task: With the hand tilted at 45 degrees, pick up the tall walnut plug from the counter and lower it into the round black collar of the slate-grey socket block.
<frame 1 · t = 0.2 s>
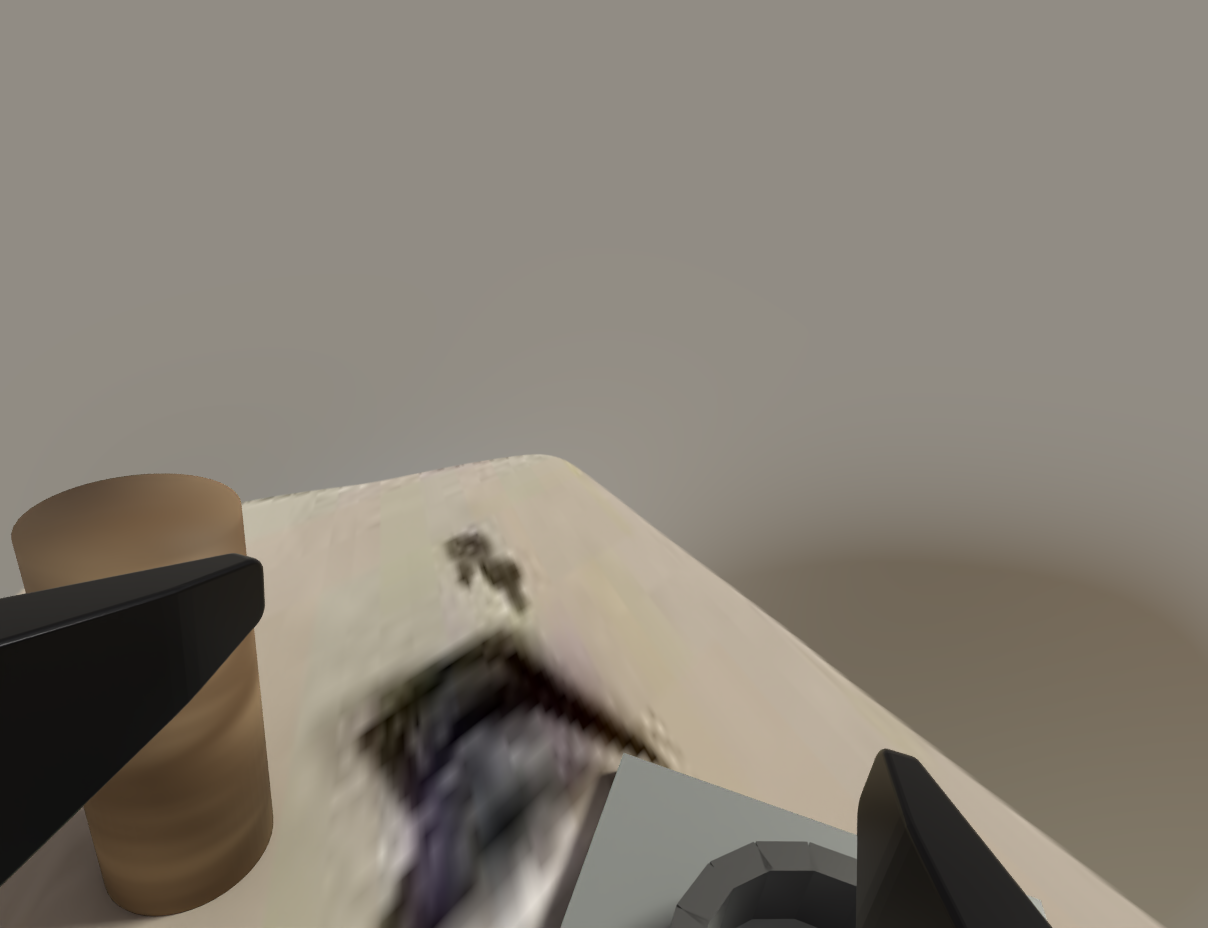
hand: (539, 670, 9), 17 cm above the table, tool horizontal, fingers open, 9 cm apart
plug: (193, 841, 23), on the table
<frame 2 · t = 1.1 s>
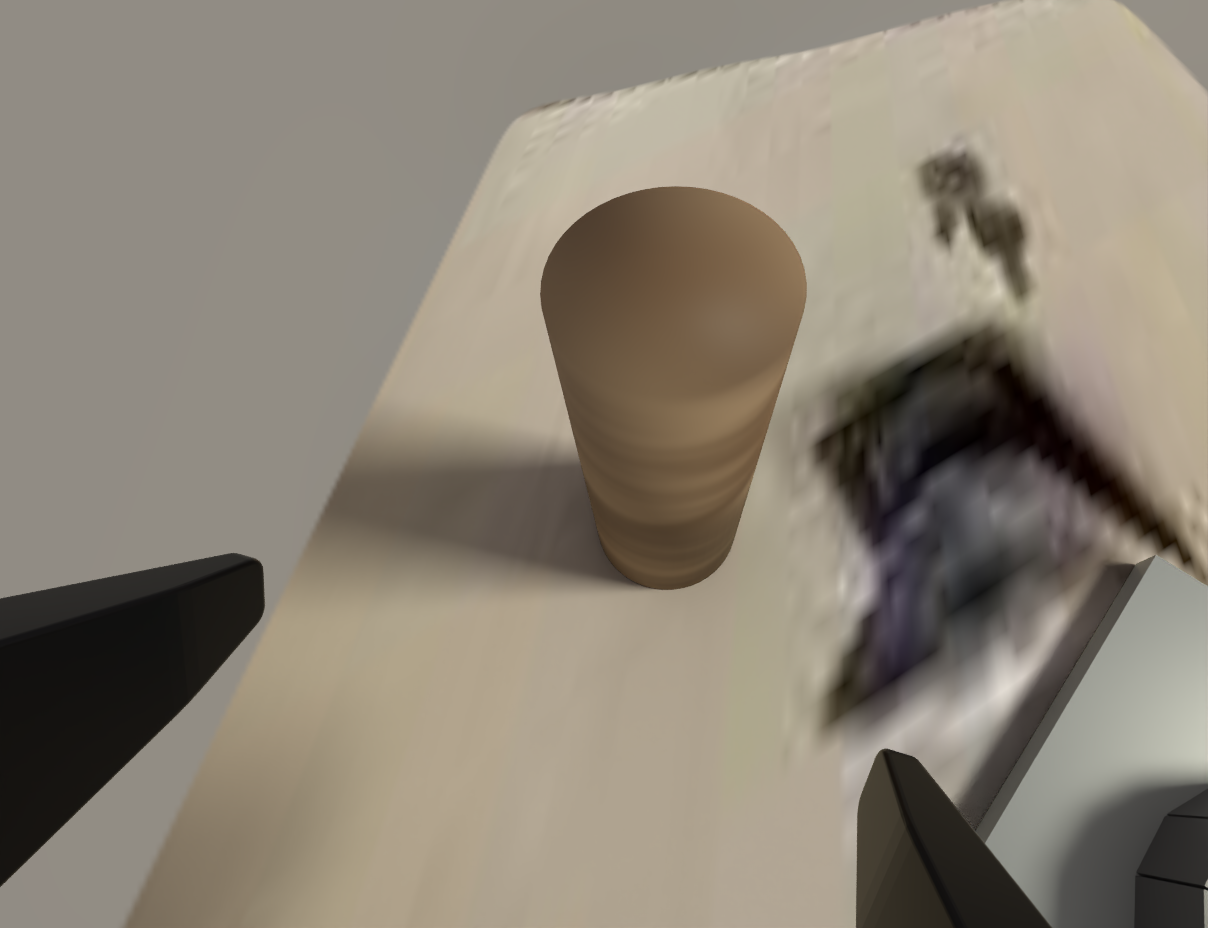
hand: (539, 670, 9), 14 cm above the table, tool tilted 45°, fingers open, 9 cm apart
plug: (665, 522, 24), on the table
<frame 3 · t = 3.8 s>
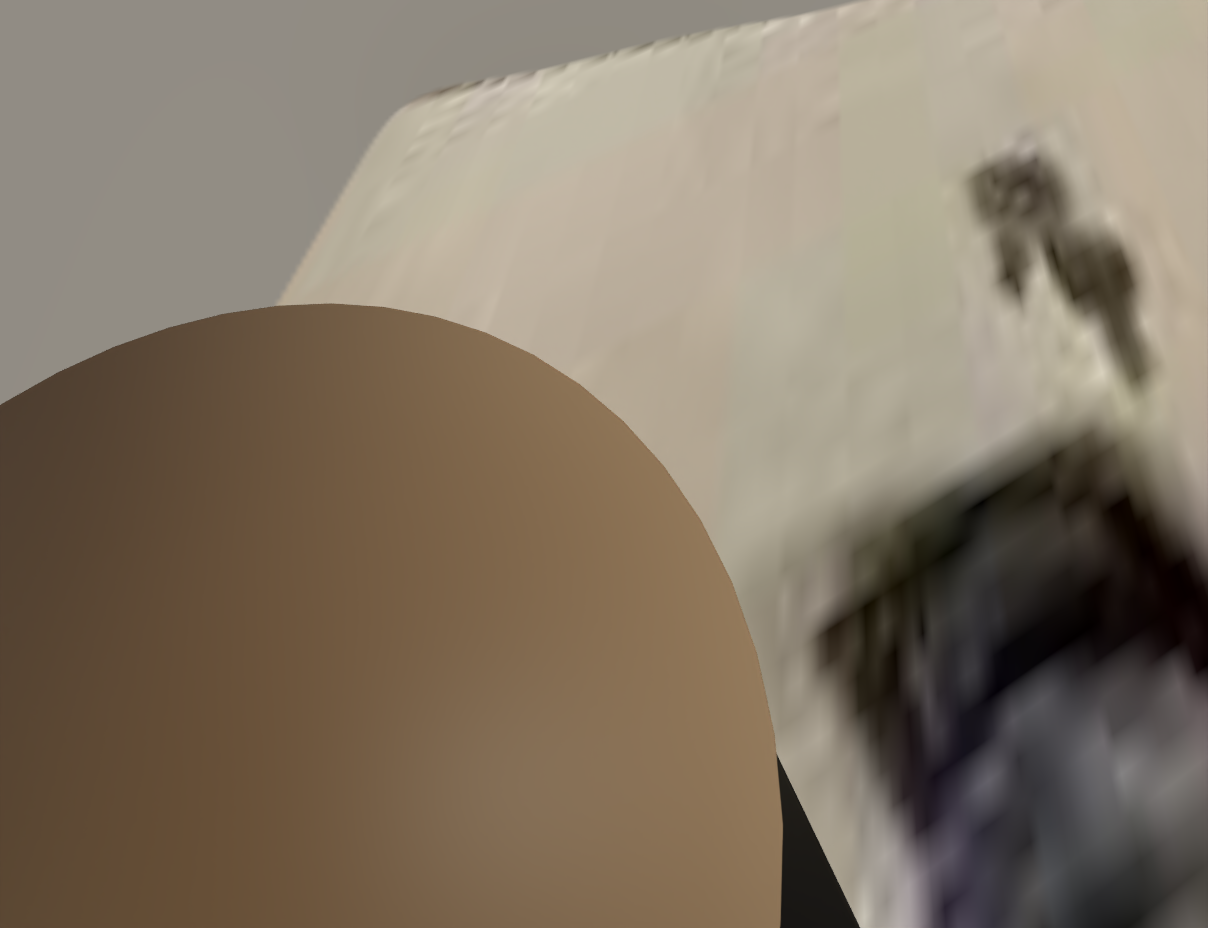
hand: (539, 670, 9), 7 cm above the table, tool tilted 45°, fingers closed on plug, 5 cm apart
plug: (568, 776, 15), on the table, touching gripper
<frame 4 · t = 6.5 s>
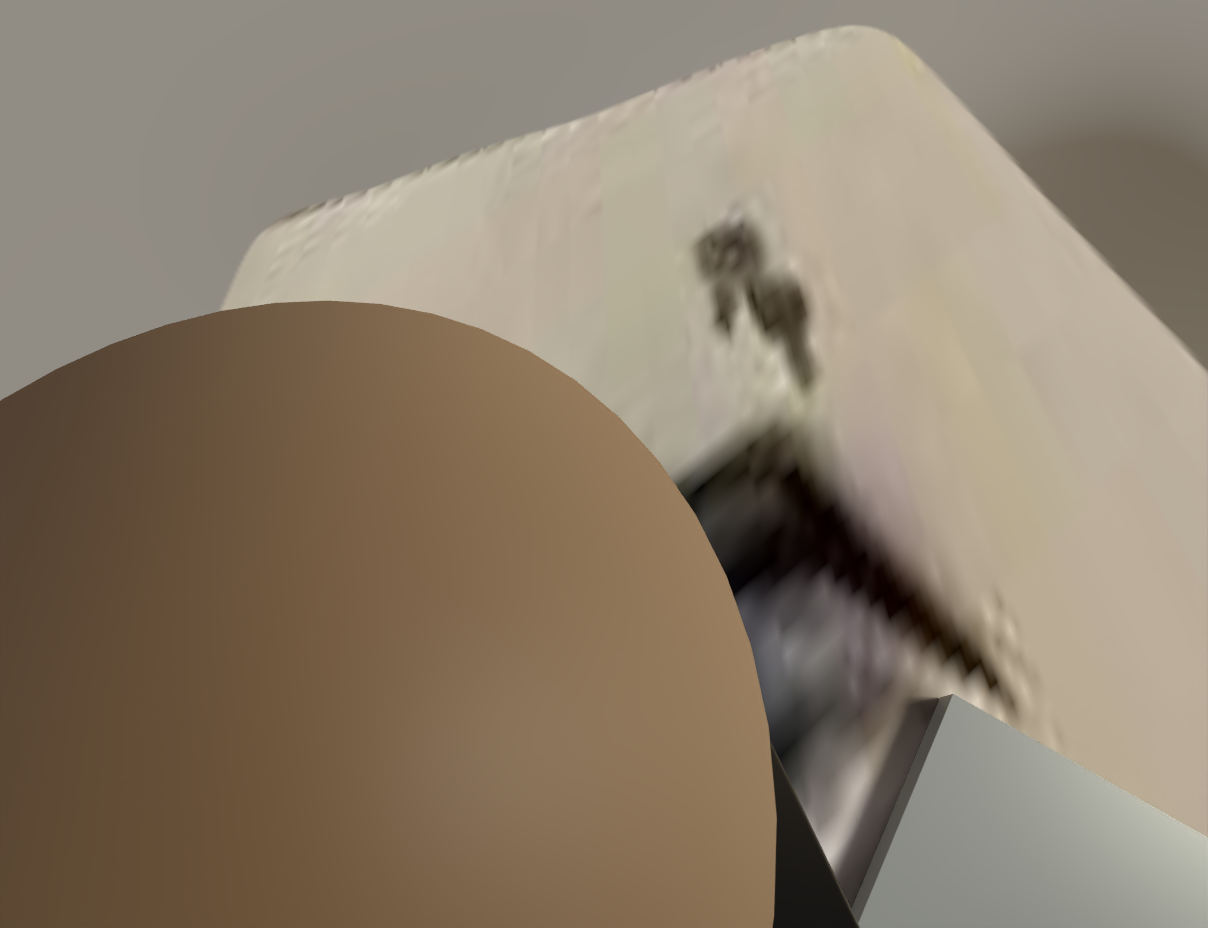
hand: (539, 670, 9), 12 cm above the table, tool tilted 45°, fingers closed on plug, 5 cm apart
plug: (567, 775, 15), point 6 cm above the table, touching gripper
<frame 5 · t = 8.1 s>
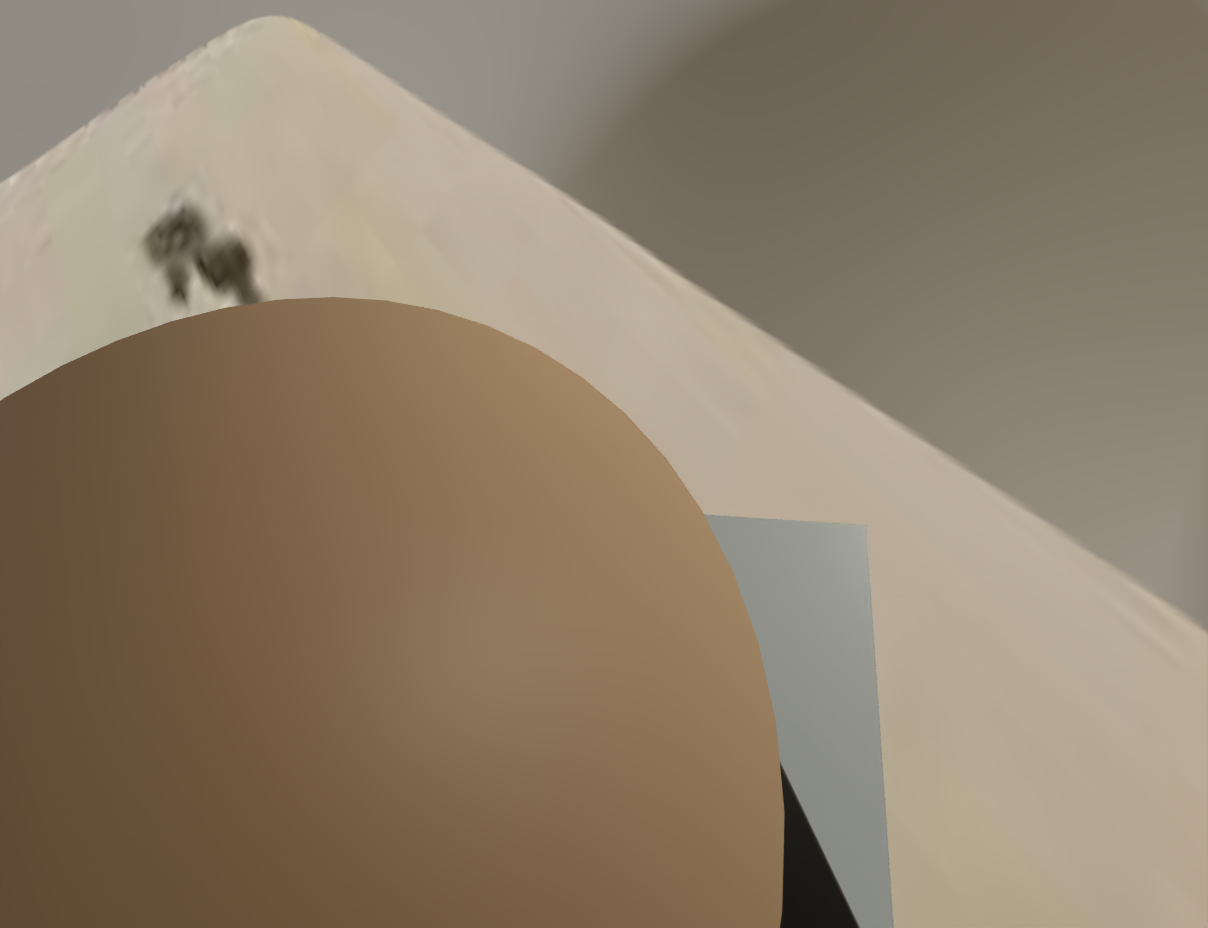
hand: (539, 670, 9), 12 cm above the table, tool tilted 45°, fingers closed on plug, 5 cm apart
plug: (568, 774, 15), point 6 cm above the table, touching gripper
socket: (593, 773, 20), on the table
when the fingers open (8 cm above the table, at t = 9.5 s): plug stays where it is, resting on socket.
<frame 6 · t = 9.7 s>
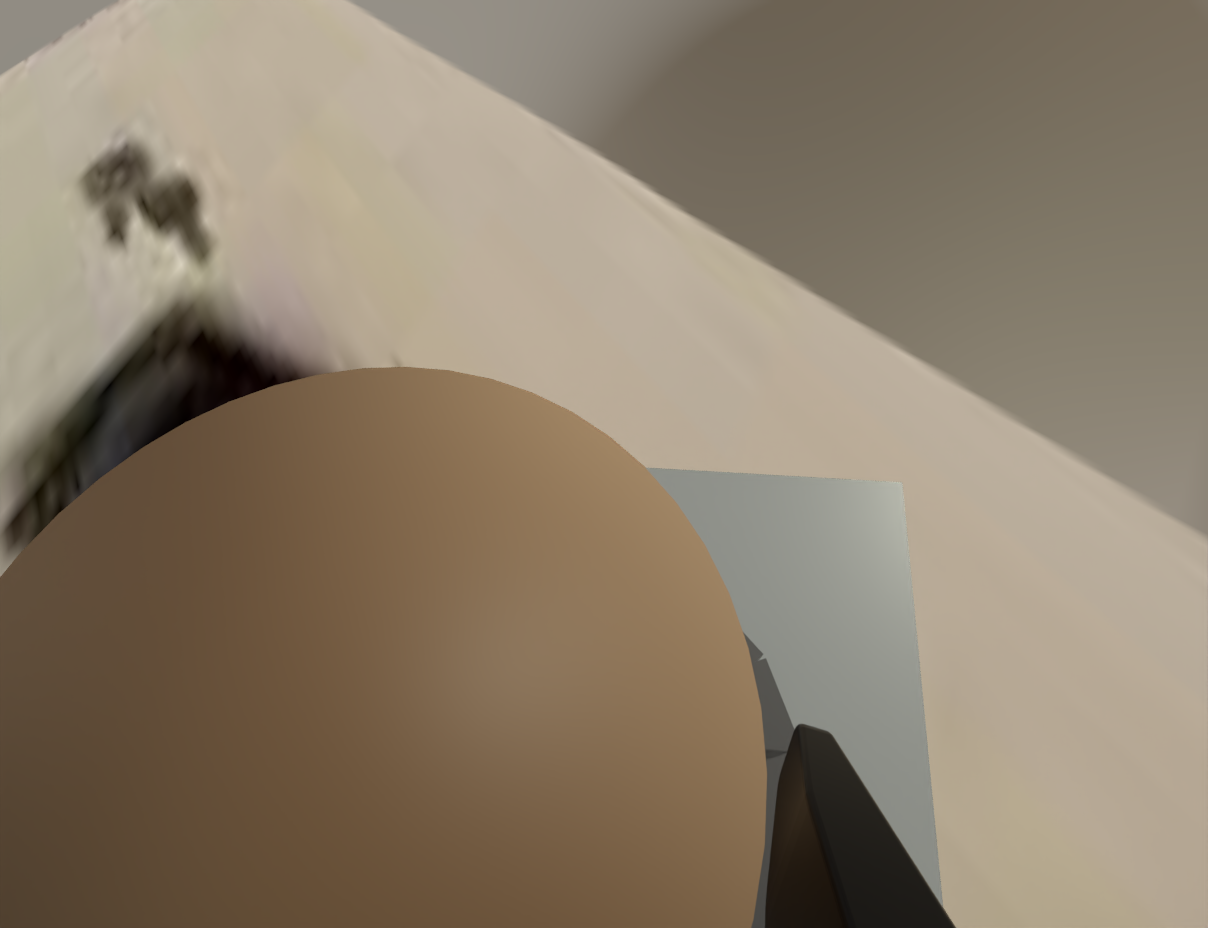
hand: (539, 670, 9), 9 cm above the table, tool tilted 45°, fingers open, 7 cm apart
plug: (573, 778, 15), point 1 cm above the table, touching socket
socket: (578, 776, 16), on the table
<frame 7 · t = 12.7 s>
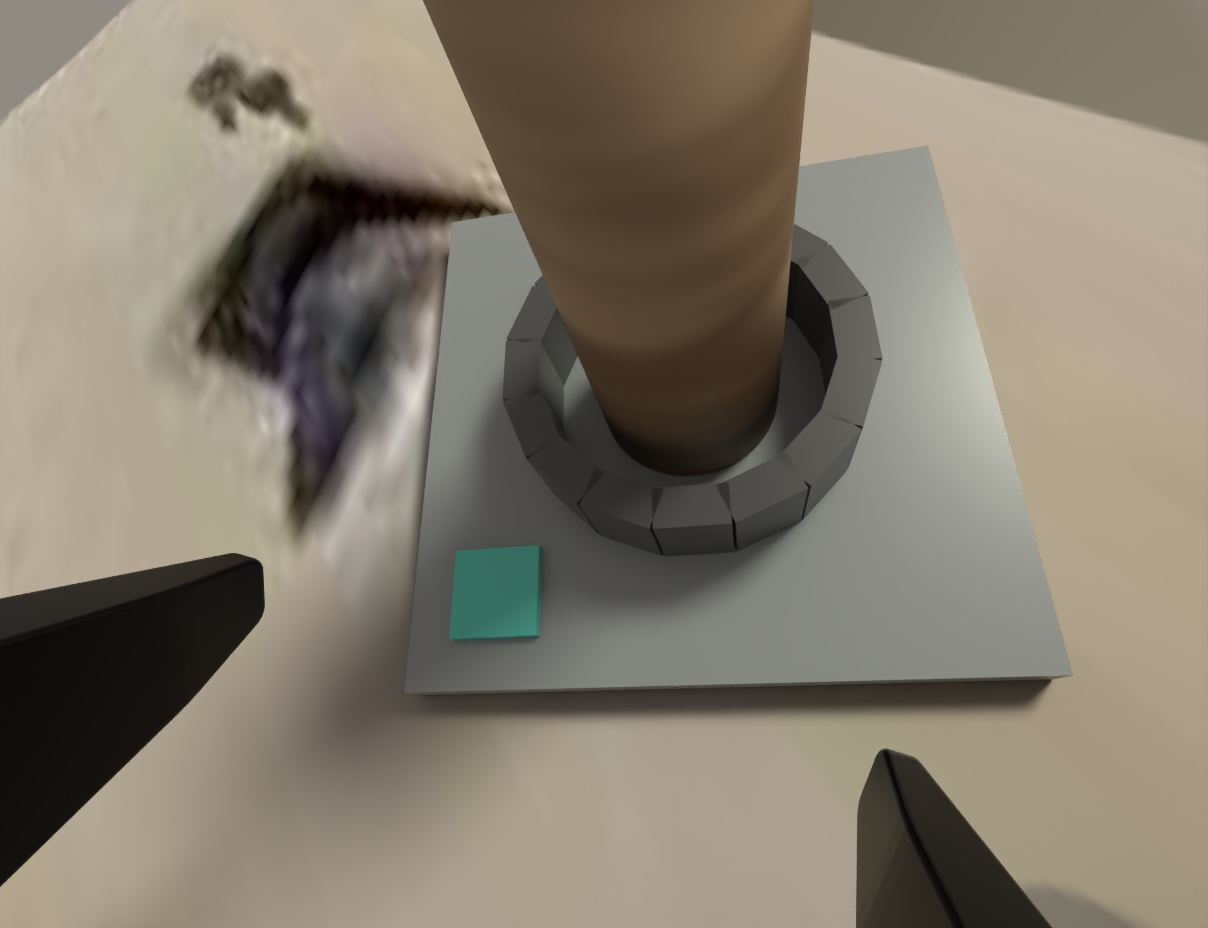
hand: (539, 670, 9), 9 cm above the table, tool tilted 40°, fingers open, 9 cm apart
plug: (689, 395, 19), point 1 cm above the table, touching socket
socket: (691, 410, 20), on the table
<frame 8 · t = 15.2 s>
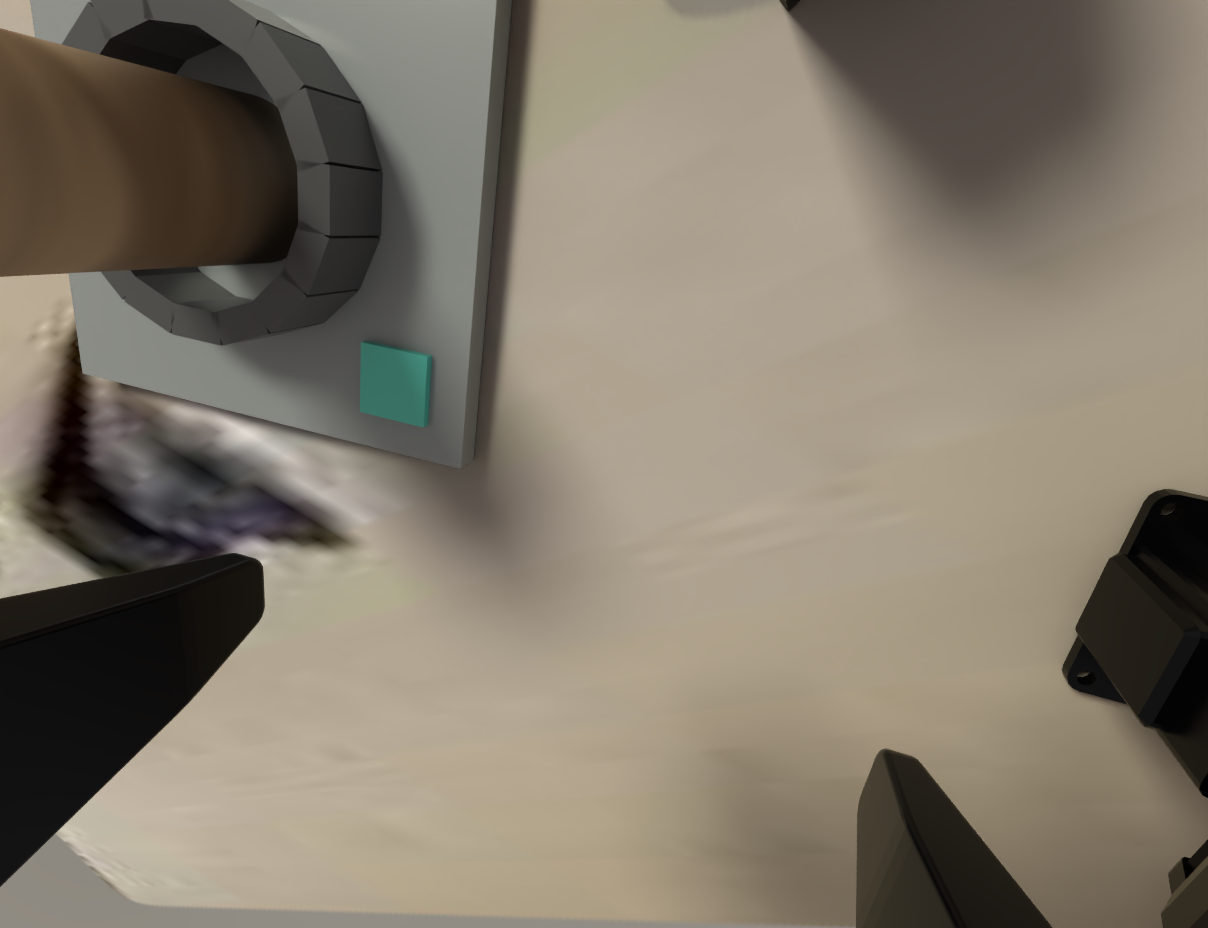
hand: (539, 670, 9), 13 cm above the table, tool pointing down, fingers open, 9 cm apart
plug: (250, 181, 21), point 1 cm above the table, touching socket
socket: (272, 183, 22), on the table
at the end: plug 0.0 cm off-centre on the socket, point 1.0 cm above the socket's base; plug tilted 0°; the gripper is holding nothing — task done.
